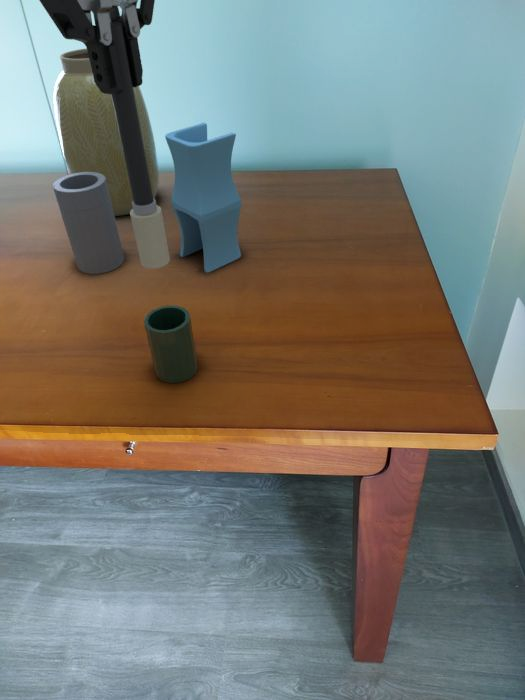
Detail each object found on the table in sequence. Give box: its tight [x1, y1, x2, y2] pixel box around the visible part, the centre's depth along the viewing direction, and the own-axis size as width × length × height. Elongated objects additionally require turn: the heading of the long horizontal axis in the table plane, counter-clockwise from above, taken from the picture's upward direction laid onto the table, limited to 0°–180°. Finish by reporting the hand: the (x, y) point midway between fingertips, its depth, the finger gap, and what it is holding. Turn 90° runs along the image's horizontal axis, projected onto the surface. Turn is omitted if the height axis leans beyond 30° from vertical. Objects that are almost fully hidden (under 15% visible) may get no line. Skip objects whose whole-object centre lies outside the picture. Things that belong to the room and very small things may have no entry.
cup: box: [52, 172, 125, 275], centre depth 85 cm, size 8×8×14 cm
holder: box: [143, 304, 199, 384], centre depth 65 cm, size 5×5×8 cm
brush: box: [110, 22, 171, 270], centre depth 51 cm, size 3×3×22 cm
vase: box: [53, 47, 161, 217], centre depth 99 cm, size 17×17×27 cm
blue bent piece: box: [164, 122, 242, 274], centre depth 83 cm, size 8×8×20 cm
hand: (121, 88), depth 47 cm, fingers closed on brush, 2 cm apart
